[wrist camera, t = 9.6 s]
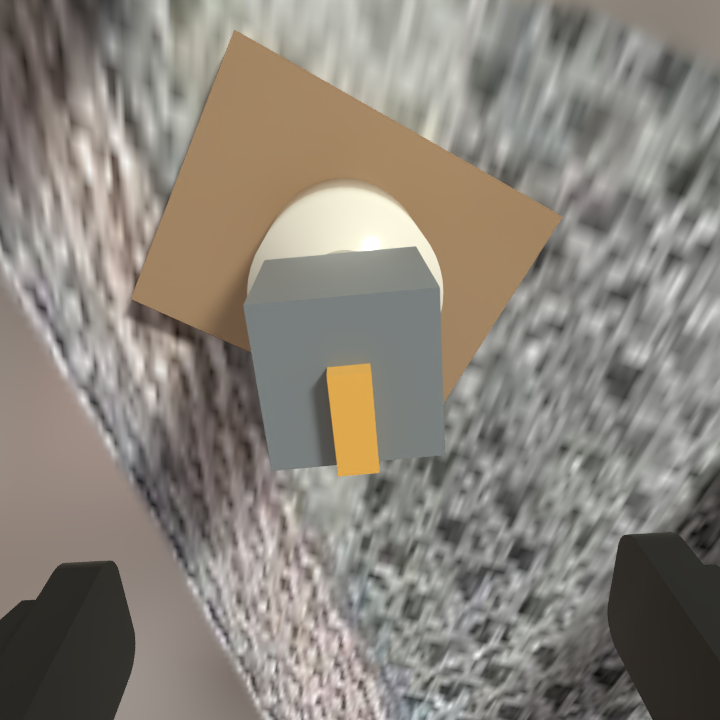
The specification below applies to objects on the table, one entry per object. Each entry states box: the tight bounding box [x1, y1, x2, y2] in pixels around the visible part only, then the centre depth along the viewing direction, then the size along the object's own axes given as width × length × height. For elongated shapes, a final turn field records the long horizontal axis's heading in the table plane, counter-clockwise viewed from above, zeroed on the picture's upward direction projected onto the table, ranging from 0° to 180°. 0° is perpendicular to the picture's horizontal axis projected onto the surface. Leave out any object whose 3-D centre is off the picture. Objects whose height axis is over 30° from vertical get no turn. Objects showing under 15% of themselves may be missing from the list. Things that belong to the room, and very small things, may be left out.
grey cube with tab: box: [243, 246, 445, 476], centre depth 18 cm, size 5×5×6 cm
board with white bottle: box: [131, 30, 562, 403], centre depth 26 cm, size 18×14×11 cm
